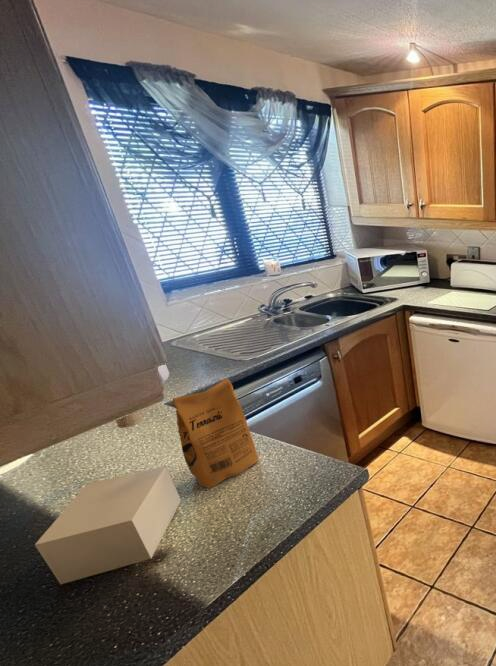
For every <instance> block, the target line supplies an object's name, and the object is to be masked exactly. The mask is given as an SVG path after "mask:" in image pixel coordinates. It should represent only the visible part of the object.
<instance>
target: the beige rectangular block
mask: <svg viewBox="0 0 496 666" xmlns="http://www.w3.org/2000/svg"><path fill="white" fill-rule="evenodd" d="M158 467H159V468H158ZM158 467H153V468H154V469H153V468H149V469H150V470H149V469H145V471H144V470H140V471H141V472H140V471H136V473H135V472H131V473H132V474H130V473H126V474H127V475H126V474H123V475H118V476H114V477H110V478H104V479H101V480H95V481H91V482H87V483H86V484H85V485H84V486H83V487H82V488H81V490H80V491H78V493H77V495H76V496H75V497H74V498H73V499H72V500H71V502H70V503H69V504H68V505H67V506H66V508H65V509H64V510H63V511H62V512H61V513H60V514H59V516H58V517H57V518H56V519H55V520H54V522H52V524H51V525H50V526H49V527H48V528H47V530H46V531H45V532H44V533H42V535H41V536H40V538H39V539H38V540H37V541H36V542H35V544H34V546H35V548H36V549H37V551H38V553H39V554H40V556H41V557H42V559H43V560H44V561H45V563H46V565H47V566H48V568H49V570H51V572H52V573H53V575H54V577H55V578H56V580H57V582H58V583H59V584H60V585H64V584H68V583H71V582H74V581H77V580H81V579H86V578H88V577H91V576H95V575H98V574H99V575H100V574H102V573H106V572H109V571H114V570H117V569H121V568H123V567H127V566H130V565H133V564H138V563H141V562H144V561H148V560H152V558H153V556H154V555H155V553H156V550H157V549H158V546H159V545H160V543H161V541H162V539H163V537H164V535H165V533H166V532H167V529H168V527H169V525H170V523H171V521H172V519H173V517H174V516H175V514H176V512H177V510H178V508H179V506H180V504H181V502H182V500H181V497H180V495H178V494H179V492H178V490H177V488H175V487H176V485H175V483H174V481H173V478H172V476H171V474H170V471H169V469H168V467H167V466H166V465H163V467H162V466H158ZM168 471H169V472H168ZM171 478H172V479H171Z"/></svg>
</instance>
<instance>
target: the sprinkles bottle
mask: <svg viewBox="0 0 496 666" xmlns="http://www.w3.org/2000/svg"><path fill="white" fill-rule="evenodd" d="M142 420H143V416H141V413H140V412H139V410H138V412H135V413H133V414H130V415H128V416H125V417H123V418H121V419H118V420H115V422H116V426H117V428H119V429H126V428H130V427H134V426H136V425H138V424H139V423H141V422H142Z"/></svg>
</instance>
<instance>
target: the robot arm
mask: <svg viewBox="0 0 496 666" xmlns="http://www.w3.org/2000/svg"><path fill="white" fill-rule="evenodd" d="M158 372H159V376H160V378H161V380H162V383H163V384H164V383H166V381H167V380H168V379H169V377H170V372H169V369H168V367H167V364H166V363H165V365H161V366H159V367H158Z"/></svg>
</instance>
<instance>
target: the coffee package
mask: <svg viewBox="0 0 496 666" xmlns="http://www.w3.org/2000/svg"><path fill="white" fill-rule="evenodd" d="M234 390H235V389H234V386H233V383H232V382H231V381H230V380H229V379H228V378H225V379H223V380H221V381H220V382H218V383H217V384H215V385H213V386H211V387H210V388H208V389H207V390H205V391H202V392H197V393H193V394H192V393H191V394H188V395H182V396H179V397H172V403H173V405H174V407H175V413H176V426H177V427H178V429H177V433H178V434H179V440H180V444H181V451H182V454H183V458H184V460H185V463H186V465H187V468H188V470H189V472H190V473H191V474H192V476H193V477H194V478H196V480H197V481H198V484H199V485H200V486H201V487H204V488H206V489H211V488H214V487H215V486H217V485H218V484H220V483H221V482H223V481H224V480H226V479H229V478H232V477H233V478H234V477H235V476H238V475H240V474H242V473H244V472H245V471H247V469H249V468H250V467H252V466H253V465H255V464H257V463H258V462H259V455H258V453H257V448H256V445H255V442H254V439H253V436H252V434H251V431H250V428H249V426H248V423H247V418H246V416H245V413H244V410H243V408H242V405H241V404H240V402H239V400H238V398H237V396H236V394H235V391H234ZM210 487H211V488H210Z"/></svg>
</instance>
